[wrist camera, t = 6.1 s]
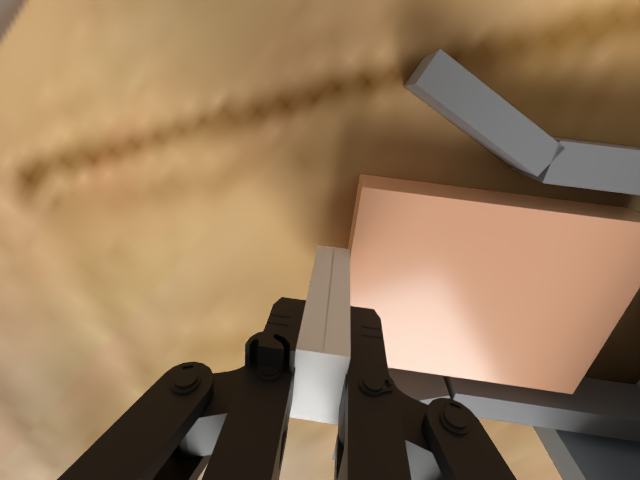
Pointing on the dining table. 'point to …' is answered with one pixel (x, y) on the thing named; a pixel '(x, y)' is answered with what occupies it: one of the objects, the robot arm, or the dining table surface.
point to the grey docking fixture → (558, 169)
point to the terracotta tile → (491, 279)
